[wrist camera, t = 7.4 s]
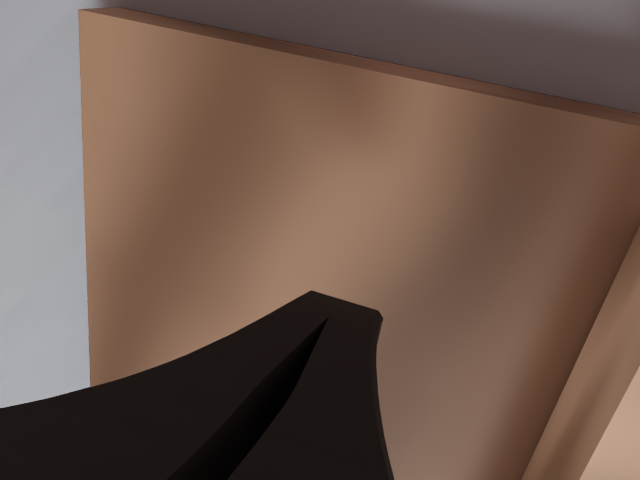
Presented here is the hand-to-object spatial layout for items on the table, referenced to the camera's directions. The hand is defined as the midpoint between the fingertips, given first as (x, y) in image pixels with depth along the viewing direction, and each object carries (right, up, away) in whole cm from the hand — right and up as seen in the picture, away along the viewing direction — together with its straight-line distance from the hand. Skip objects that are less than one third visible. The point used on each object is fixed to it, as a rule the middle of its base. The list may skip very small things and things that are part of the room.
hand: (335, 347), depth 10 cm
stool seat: (+2, -2, +6) cm, 7 cm away
